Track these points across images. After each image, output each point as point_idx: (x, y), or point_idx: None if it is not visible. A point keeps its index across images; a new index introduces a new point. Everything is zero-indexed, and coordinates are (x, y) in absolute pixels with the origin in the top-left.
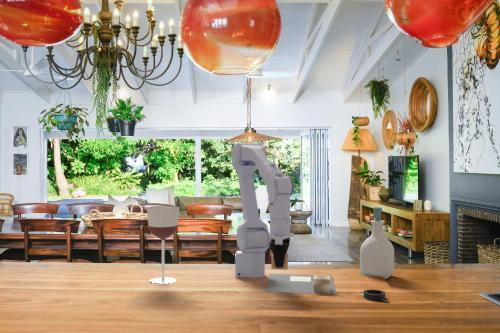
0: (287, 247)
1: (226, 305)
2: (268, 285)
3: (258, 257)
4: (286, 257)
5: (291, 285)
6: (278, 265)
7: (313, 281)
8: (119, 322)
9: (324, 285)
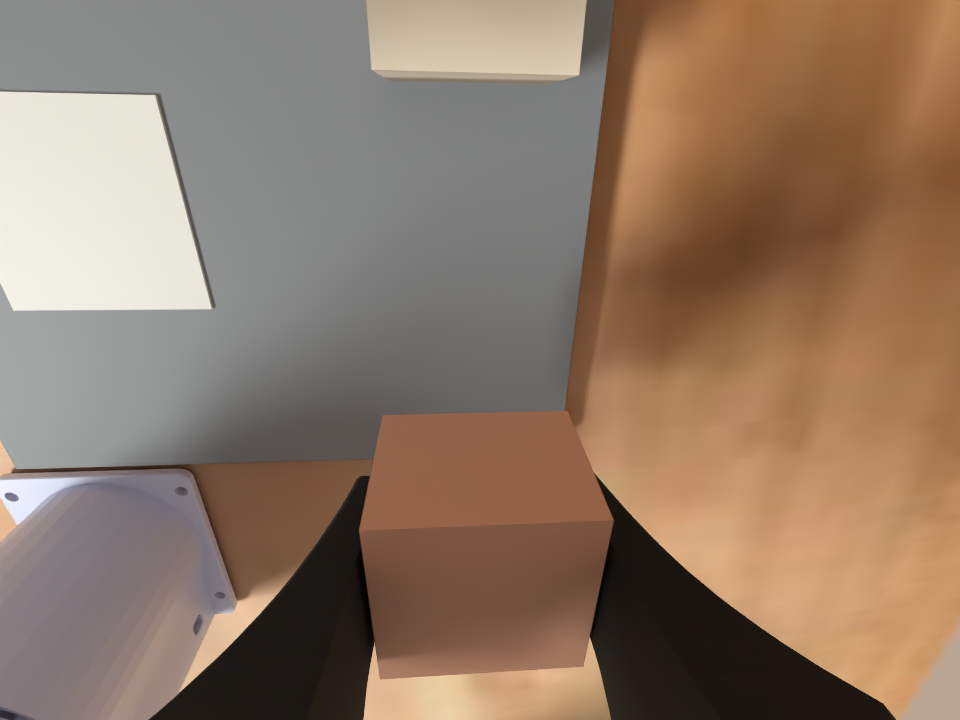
0: (867, 698)
1: (712, 565)
2: None
3: (70, 672)
4: (608, 526)
5: (351, 292)
6: None
7: (417, 76)
8: None
9: None
